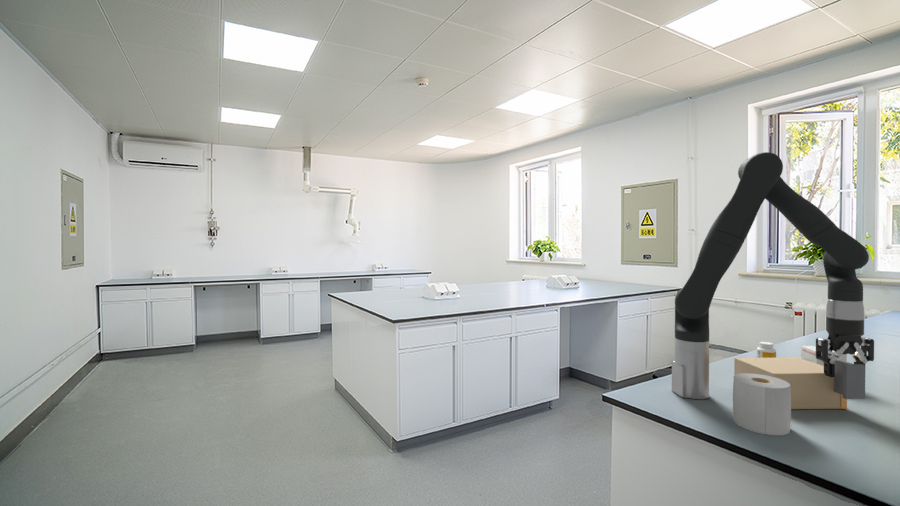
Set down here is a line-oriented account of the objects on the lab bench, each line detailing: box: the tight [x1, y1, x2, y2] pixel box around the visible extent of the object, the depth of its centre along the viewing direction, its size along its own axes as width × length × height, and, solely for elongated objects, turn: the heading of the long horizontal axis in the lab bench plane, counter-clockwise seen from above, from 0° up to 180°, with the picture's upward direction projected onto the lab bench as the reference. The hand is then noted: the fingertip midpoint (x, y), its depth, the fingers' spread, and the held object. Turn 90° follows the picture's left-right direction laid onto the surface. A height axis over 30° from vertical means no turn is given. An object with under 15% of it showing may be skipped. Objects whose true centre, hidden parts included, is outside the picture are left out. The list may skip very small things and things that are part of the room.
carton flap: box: [774, 360, 866, 410], centre depth 114 cm, size 20×6×14 cm, turn 90°
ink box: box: [800, 345, 848, 366], centre depth 137 cm, size 9×8×12 cm
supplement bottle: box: [756, 341, 777, 358], centre depth 151 cm, size 6×6×10 cm
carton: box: [733, 356, 824, 377], centre depth 125 cm, size 20×16×10 cm
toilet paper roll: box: [732, 373, 792, 437], centre depth 107 cm, size 12×12×12 cm
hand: (844, 376), depth 114 cm, fingers open, 7 cm apart
